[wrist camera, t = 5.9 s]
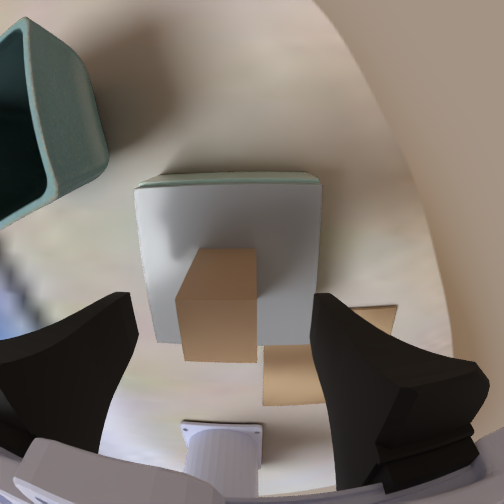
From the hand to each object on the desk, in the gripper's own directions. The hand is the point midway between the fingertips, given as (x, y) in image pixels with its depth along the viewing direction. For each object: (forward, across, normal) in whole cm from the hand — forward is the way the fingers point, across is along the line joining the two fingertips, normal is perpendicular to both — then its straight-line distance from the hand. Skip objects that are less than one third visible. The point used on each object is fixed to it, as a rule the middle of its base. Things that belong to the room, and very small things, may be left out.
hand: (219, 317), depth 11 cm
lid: (+5, 0, 0) cm, 5 cm away
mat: (+8, -7, +10) cm, 15 cm away
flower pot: (+9, +11, -8) cm, 16 cm away
